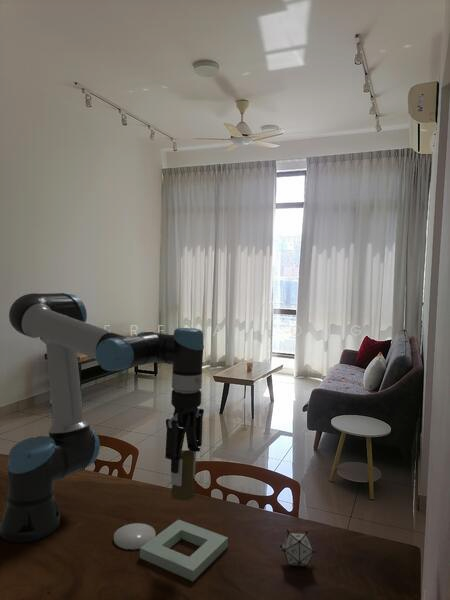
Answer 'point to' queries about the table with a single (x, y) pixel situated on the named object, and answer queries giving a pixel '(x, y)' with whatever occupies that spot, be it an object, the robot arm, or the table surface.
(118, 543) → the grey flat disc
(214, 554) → the frame
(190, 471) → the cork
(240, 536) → the table surface
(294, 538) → the game die
